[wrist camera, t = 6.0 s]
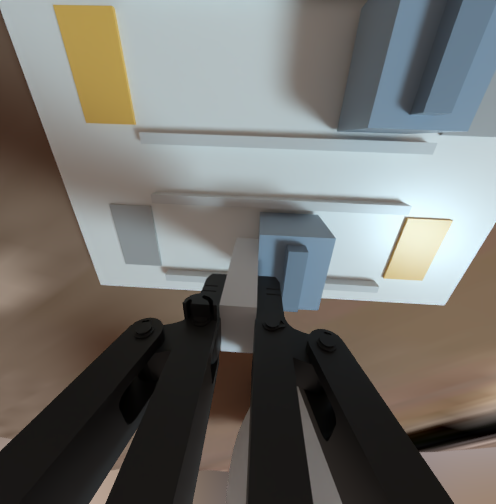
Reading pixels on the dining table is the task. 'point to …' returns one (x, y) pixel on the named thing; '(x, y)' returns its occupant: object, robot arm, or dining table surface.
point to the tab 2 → (419, 66)
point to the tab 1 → (295, 256)
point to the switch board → (244, 144)
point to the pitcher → (320, 475)
